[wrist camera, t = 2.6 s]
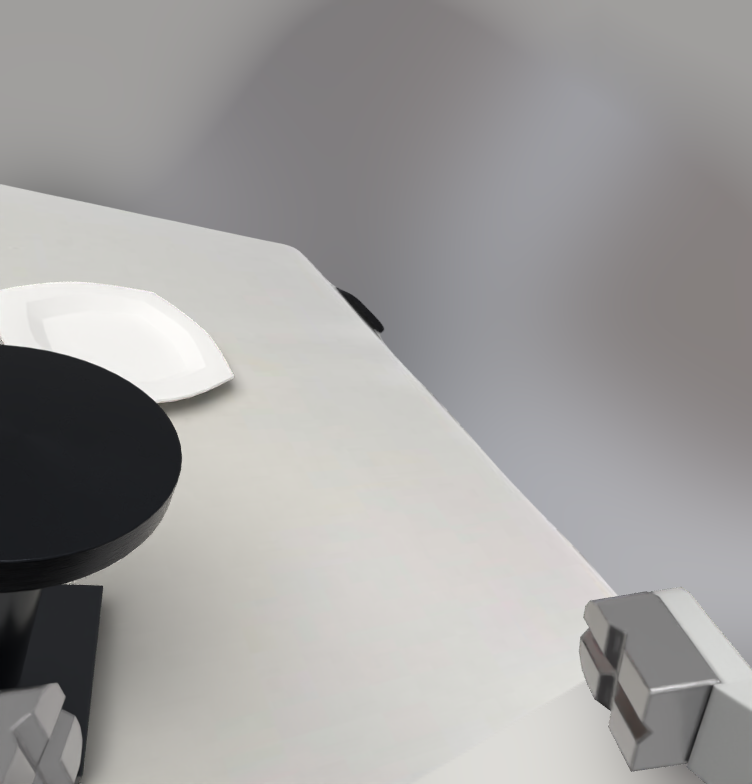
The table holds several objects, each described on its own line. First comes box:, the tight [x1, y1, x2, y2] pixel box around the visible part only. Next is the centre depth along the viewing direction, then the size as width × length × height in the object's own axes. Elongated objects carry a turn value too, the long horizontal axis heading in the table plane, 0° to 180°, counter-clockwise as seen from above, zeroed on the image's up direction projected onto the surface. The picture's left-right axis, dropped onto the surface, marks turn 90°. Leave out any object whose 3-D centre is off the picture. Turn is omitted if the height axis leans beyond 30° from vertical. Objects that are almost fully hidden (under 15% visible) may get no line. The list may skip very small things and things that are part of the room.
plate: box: [0, 282, 234, 403], centre depth 53 cm, size 19×19×2 cm
